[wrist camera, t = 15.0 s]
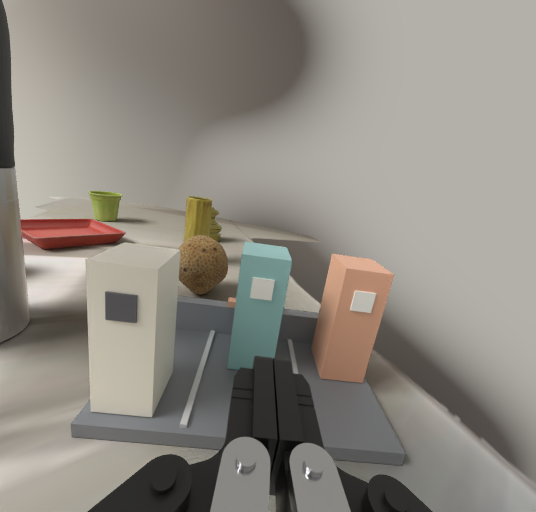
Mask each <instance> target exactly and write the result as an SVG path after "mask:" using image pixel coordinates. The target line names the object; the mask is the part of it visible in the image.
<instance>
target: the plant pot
mask: <svg viewBox="0 0 536 512" xmlns="http://www.w3.org/2000/svg"><path fill="white" fill-rule="evenodd" d="M88 193H89V194H90V198H91V200H92V205H93V210H94V215H95V219H96V220H99V221H108V220H109V221H116V220H117V215H118V208H119V202H120V200H121V196H122V194H118V193H112V192H101V191H89V192H88Z"/></svg>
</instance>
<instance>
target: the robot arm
mask: <svg viewBox="0 0 536 512" xmlns="http://www.w3.org/2000/svg"><path fill="white" fill-rule="evenodd" d="M10 54H11V53H10V38H9V29H8V23H7V17H6V13H5V9H4V5H3V2H2V0H0V342H2V341H5V340H7V339H9V338H11V337H13V336H15V335H16V334H18V333H20V332H21V331H22V330H23V329H25V328H26V326H27V325H28V324H29V321H30V314H29V304H28V294H27V281H26V271H25V261H24V251H23V241H22V230H21V220H20V210H19V200H18V193H17V183H16V182H17V181H16V172H15V168H14V166H15V161H14V125H13V114H12V96H11V55H10ZM269 495H276V512H432V511H431V510H430V509H429V508H428V507H427V506H426V505H425V504H424V503H423V502H421V501H420V500H419V499H418V498H417V497H416V496H415V495H414V494H413V493H412V492H411V491H410V490H409V489H408V488H407V487H406V486H404V485H403V484H402V483H401V482H399V481H398V480H396V479H394V478H393V477H390V476H387V475H376V476H374V477H373V478H371V480H370V481H369V483H367V482H365V481H363V480H360V479H358V478H356V477H354V476H351V475H349V474H347V473H345V472H344V471H342V470H341V469H339V468H338V467H337V466H336V465H335V462H334V461H333V459H332V457H331V456H330V455H329V454H328V452H327V451H325V449H324V445H323V441H322V437H321V432H320V428H319V424H318V420H317V415H316V411H315V408H314V402H313V398H312V394H311V389H310V385H309V383H308V382H307V381H306V379H305V378H304V376H303V375H302V374H295V373H293V370H292V364H291V360H288V359H280V358H273V359H272V358H271V357H263V356H254V361H253V367H252V369H251V368H242V367H241V368H240V369H239V370H238V372H237V373H236V374H235V376H234V381H233V388H232V394H231V401H230V408H229V415H228V423H227V430H226V438H225V443H224V445H223V447H222V448H221V450H220V451H219V452H218V453H217V454H216V455H214V456H213V457H212V458H210V459H208V460H205V461H202V462H198V463H195V464H191V465H189V464H188V463H187V461H186V460H185V459H183V458H182V457H180V456H177V455H172V454H169V455H162V456H159V457H157V458H155V459H153V460H151V461H150V462H149V463H147V464H146V465H145V466H144V467H142V468H141V469H140V470H139V471H137V472H136V473H135V474H134V475H132V476H131V477H130V478H129V479H127V480H126V481H125V482H124V483H123V484H121V485H120V486H119V487H118V488H116V489H115V490H114V491H113V492H111V493H110V494H109V495H108V496H106V497H105V498H104V499H103V500H101V501H100V502H99V503H98V504H96V505H95V506H94V507H93V508H91V509H90V510H89V511H88V512H269Z"/></svg>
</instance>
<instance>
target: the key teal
mask: <svg viewBox="0 0 536 512" xmlns="http://www.w3.org/2000/svg"><path fill="white" fill-rule="evenodd" d="M291 264H292V260H291V257H290V255H289V252H288V250H287V248H286V247H280V246H273V245H265V244H258V243H251V242H245V244H244V248H243V252H242V257H241V265H240V273H239V280H238V288H237V296H236V304H235V311H234V319H233V327H232V335H231V343H230V350H229V358H228V366H227V369H236V370H239V369H240V368H241V367H242V368H251V369H252V367H253V361H254V356H263V357H271V358H272V359H273V358H274V357H275V352H276V346H277V341H278V335H279V330H280V324H281V319H282V313H283V308H284V302H285V297H286V291H287V286H288V280H289V275H290V269H291Z"/></svg>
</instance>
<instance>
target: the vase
mask: <svg viewBox="0 0 536 512" xmlns="http://www.w3.org/2000/svg"><path fill="white" fill-rule="evenodd" d="M186 206H187V207H186V220H185V234H184V242H185V241H186V240H188V239H189V238H191V237H194V236H198V235H204V236H208V237H209V235H210V221H211V208H212V200H211V199H208V198H201V197H193V196H188V197H187V205H186Z"/></svg>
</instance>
